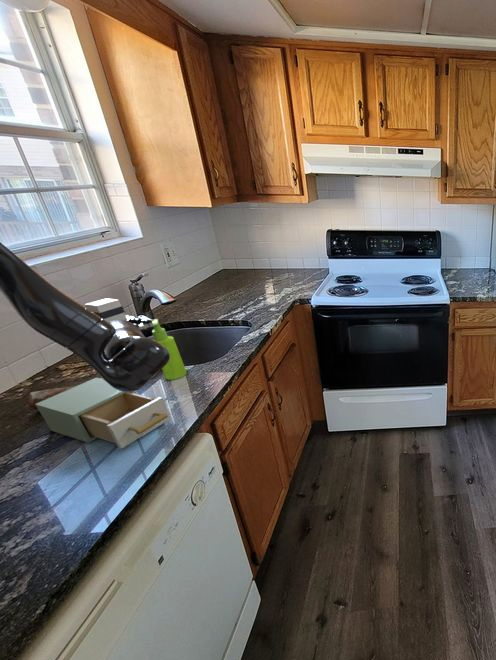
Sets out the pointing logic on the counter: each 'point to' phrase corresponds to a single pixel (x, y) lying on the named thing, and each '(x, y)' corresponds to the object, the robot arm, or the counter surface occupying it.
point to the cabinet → (76, 407)
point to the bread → (44, 395)
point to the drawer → (125, 418)
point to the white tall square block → (107, 309)
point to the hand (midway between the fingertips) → (110, 322)
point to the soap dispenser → (175, 362)
